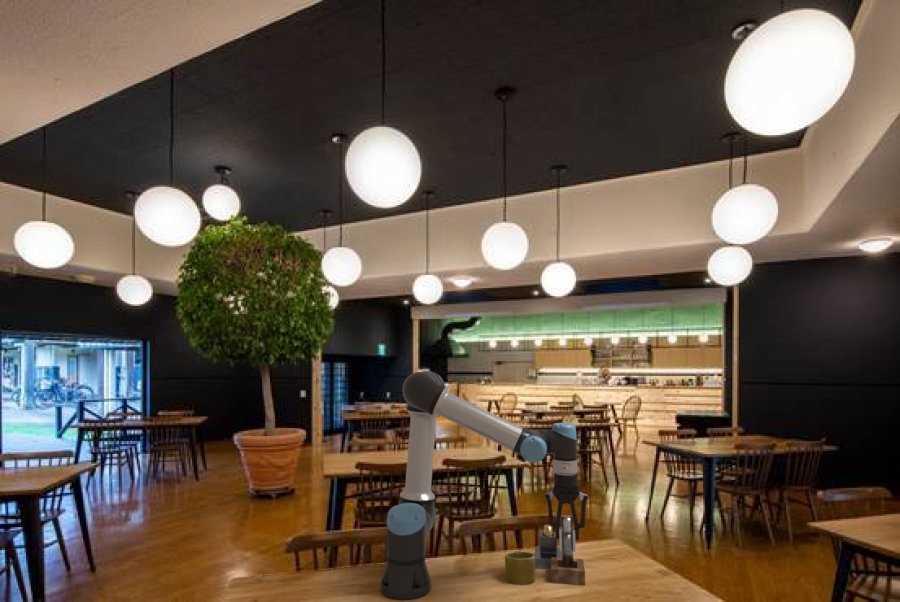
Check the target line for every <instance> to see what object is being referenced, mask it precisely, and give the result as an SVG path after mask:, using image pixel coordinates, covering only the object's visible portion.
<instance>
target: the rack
mask: <svg viewBox="0 0 900 602" xmlns="http://www.w3.org/2000/svg"><path fill="white" fill-rule="evenodd" d="M573 562H574V564H573V565H564V564H563V563H562V558H556V557H551V570H550V574H551V575H550V576H551V577H550V578H551V584H560V585H562V584H563V585H574V586H586V570H585V564H584V563H585V562H584V559H582V558H573Z"/></svg>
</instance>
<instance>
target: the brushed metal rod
mask: <svg viewBox="0 0 900 602" xmlns="http://www.w3.org/2000/svg"><path fill="white" fill-rule="evenodd" d="M560 525H561V526H560V527H562V563H563V564H564V565H573V564H574V562H573V559H574V552H573V527H574V526H573V516H572V515H561V519H560Z"/></svg>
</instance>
